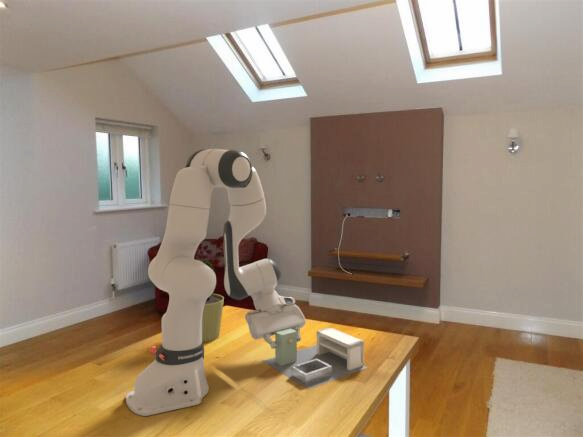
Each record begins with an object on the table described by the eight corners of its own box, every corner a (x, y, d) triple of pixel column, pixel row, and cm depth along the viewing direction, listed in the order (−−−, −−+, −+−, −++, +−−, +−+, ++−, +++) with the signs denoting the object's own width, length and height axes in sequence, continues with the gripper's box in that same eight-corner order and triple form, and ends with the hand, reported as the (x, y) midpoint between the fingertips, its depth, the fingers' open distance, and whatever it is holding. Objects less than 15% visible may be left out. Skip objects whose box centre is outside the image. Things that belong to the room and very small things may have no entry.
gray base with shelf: (308, 393, 130) (308, 362, 129) (262, 364, 149) (261, 337, 148) (367, 371, 144) (368, 343, 144) (318, 347, 164) (318, 322, 163)
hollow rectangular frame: (305, 385, 133) (305, 375, 132) (291, 376, 138) (291, 366, 138) (331, 375, 139) (332, 366, 138) (316, 367, 144) (316, 358, 144)
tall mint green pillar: (283, 366, 145) (283, 336, 144) (275, 362, 148) (275, 332, 147) (298, 362, 148) (298, 332, 147) (290, 357, 152) (290, 328, 151)
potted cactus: (175, 341, 169) (173, 261, 166) (195, 328, 184) (194, 254, 180) (213, 346, 164) (211, 264, 161) (231, 332, 179) (230, 256, 176)
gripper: (246, 307, 146) (263, 347, 139) (297, 297, 158) (315, 332, 152) (239, 317, 150) (256, 356, 144) (289, 306, 162) (307, 341, 156)
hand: (287, 344), depth 148 cm, fingers open, 8 cm apart
